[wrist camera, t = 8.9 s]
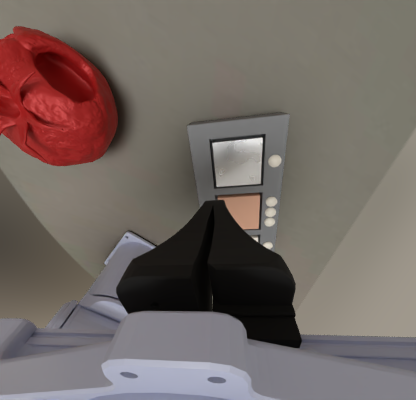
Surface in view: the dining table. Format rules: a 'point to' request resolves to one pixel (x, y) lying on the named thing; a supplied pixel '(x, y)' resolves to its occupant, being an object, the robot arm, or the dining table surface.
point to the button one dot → (238, 160)
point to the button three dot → (243, 208)
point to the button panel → (270, 169)
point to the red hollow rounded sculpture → (53, 100)
